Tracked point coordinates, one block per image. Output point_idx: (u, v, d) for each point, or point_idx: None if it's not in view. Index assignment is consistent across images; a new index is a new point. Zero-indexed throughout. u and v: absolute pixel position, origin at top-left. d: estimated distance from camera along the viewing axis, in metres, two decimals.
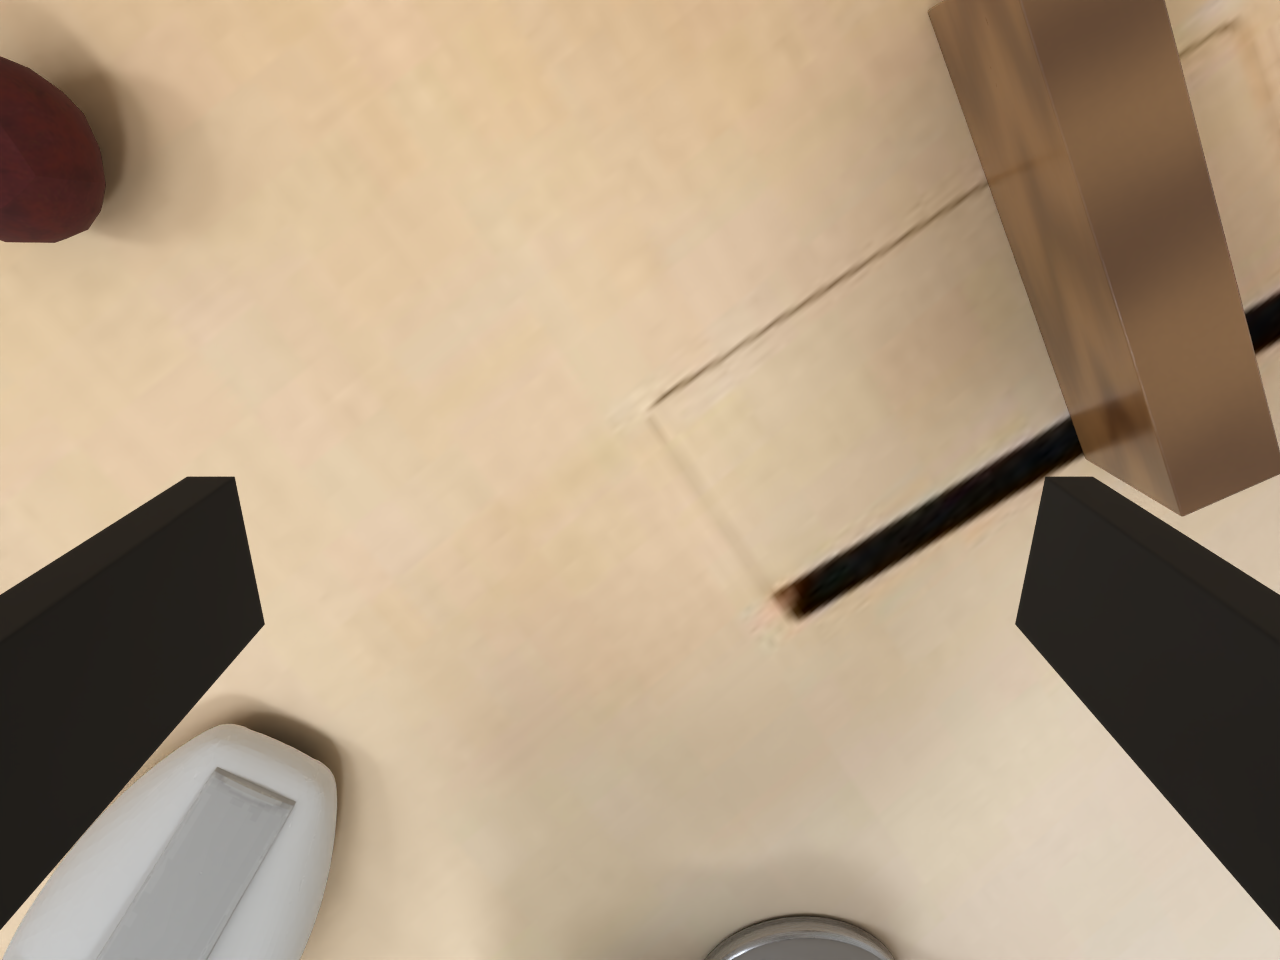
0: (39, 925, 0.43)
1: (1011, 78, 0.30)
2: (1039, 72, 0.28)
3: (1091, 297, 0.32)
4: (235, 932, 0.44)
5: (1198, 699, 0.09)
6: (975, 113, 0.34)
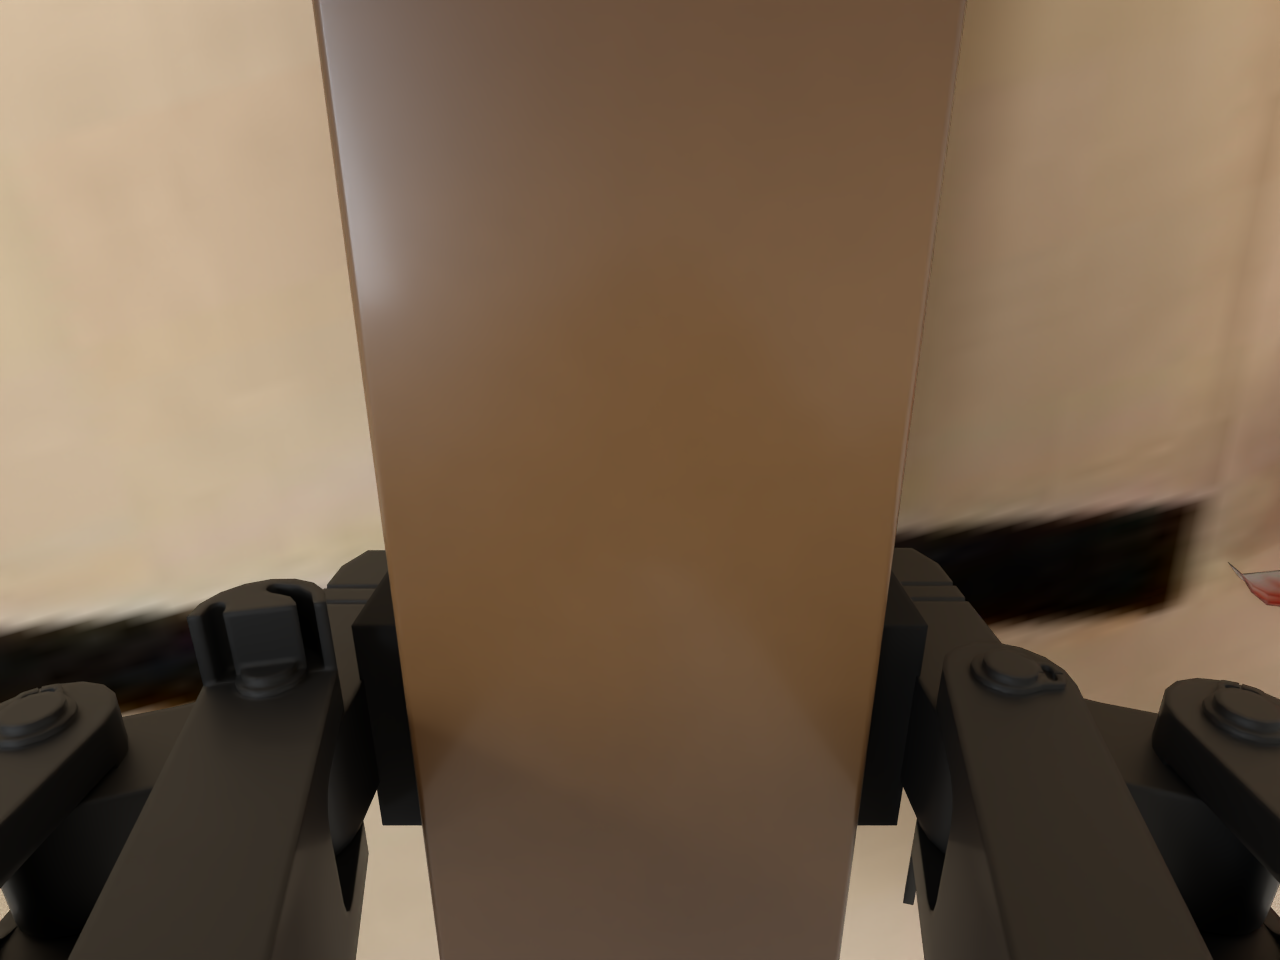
0: None
1: None
2: None
3: None
4: None
5: None
6: None
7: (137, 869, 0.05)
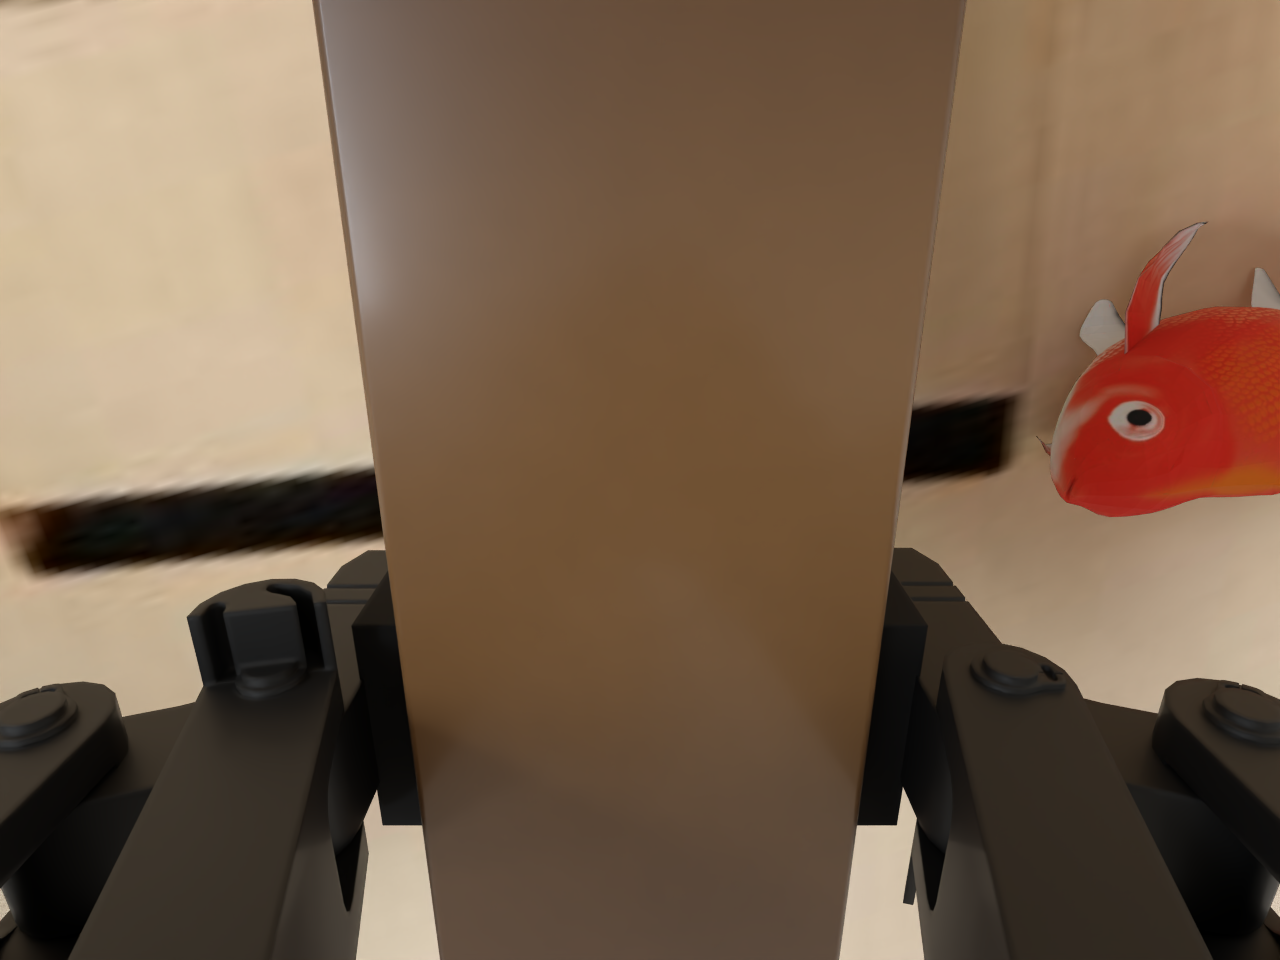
0: None
1: None
2: None
3: None
4: None
5: None
6: None
7: (137, 869, 0.05)
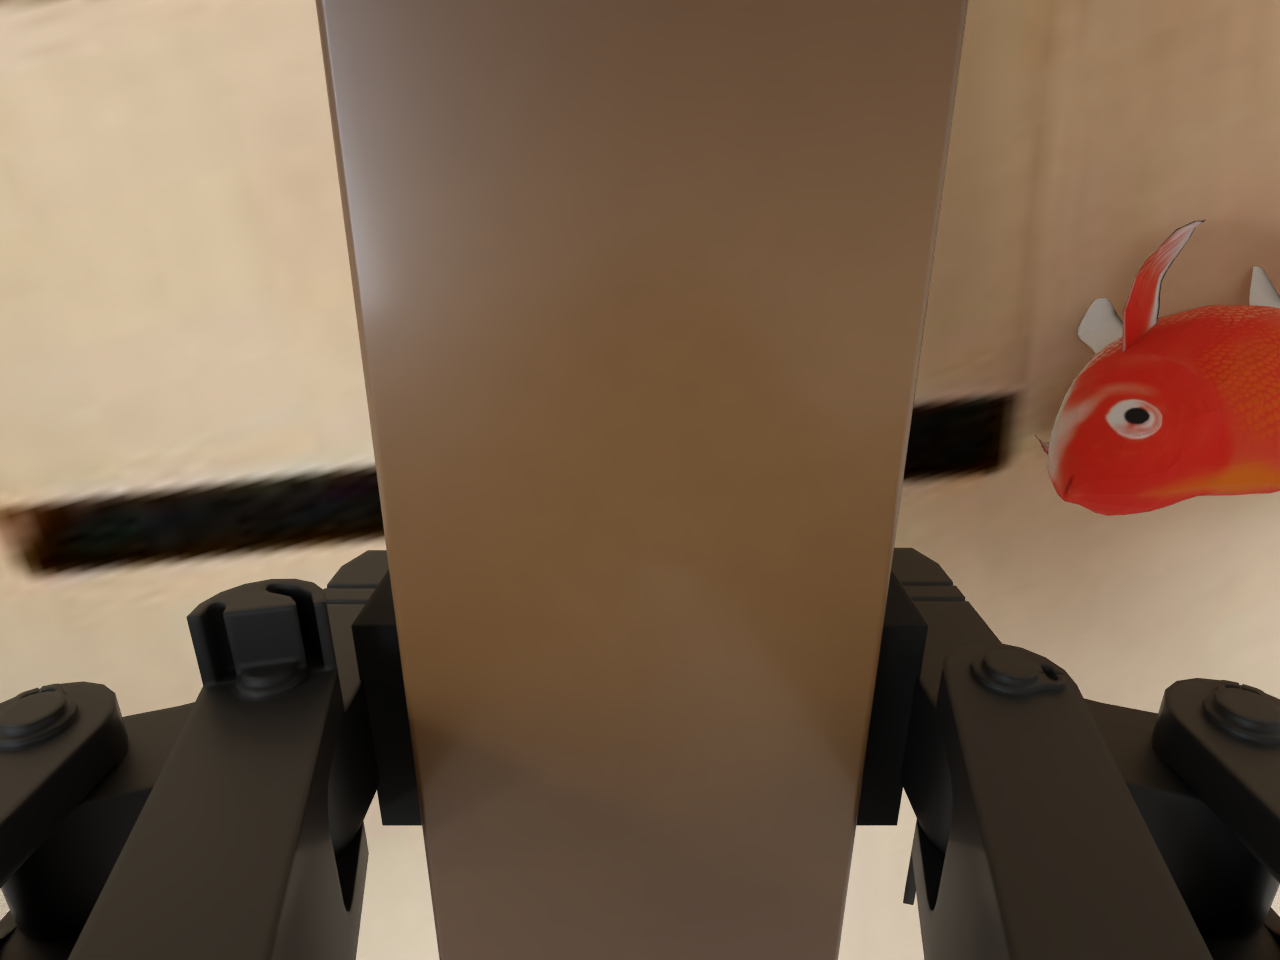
0: None
1: None
2: None
3: None
4: None
5: None
6: None
7: (137, 869, 0.05)
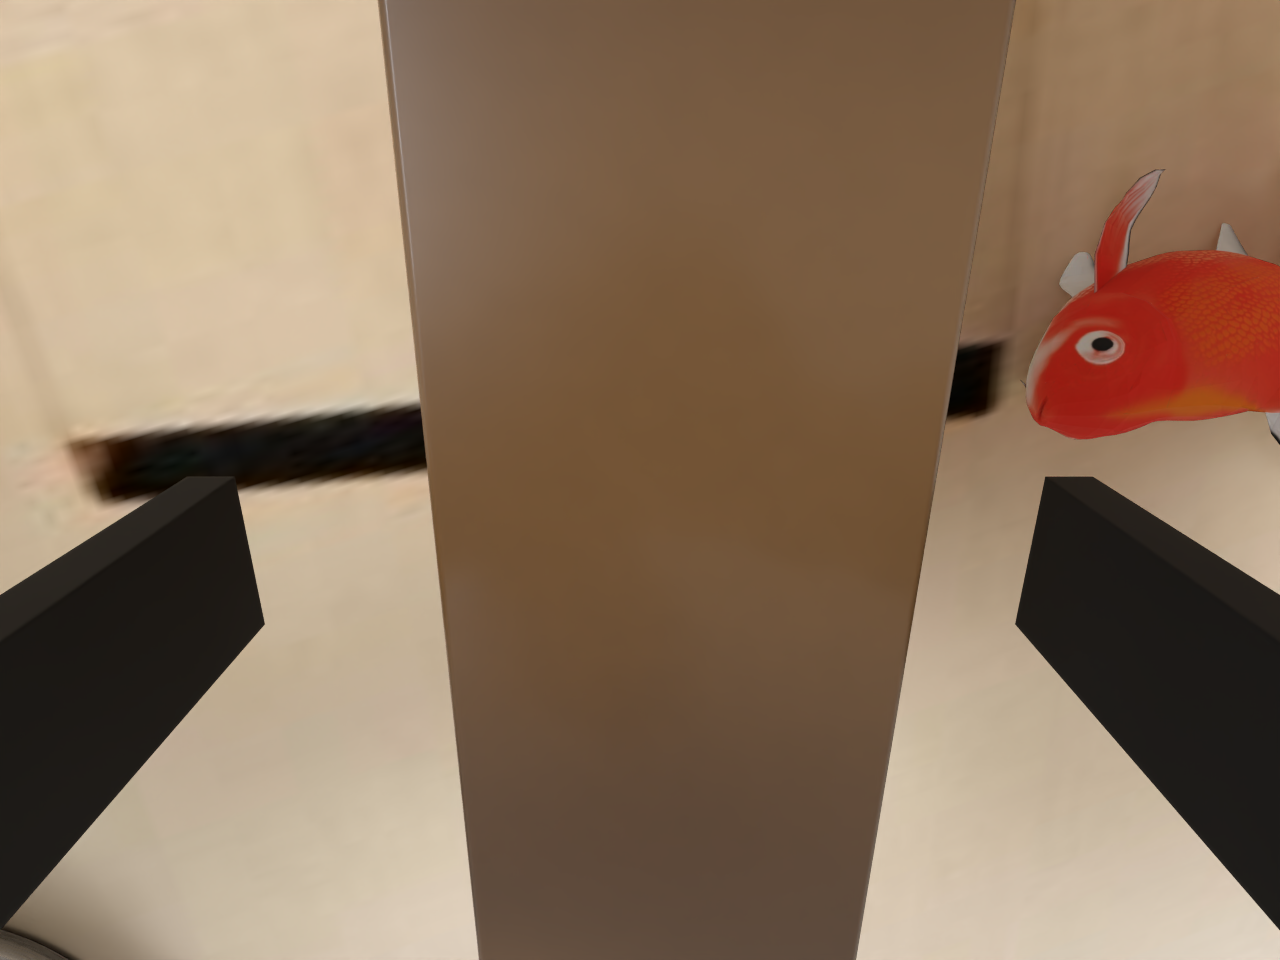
0: None
1: None
2: None
3: None
4: None
5: (1199, 701, 0.09)
6: None
7: None
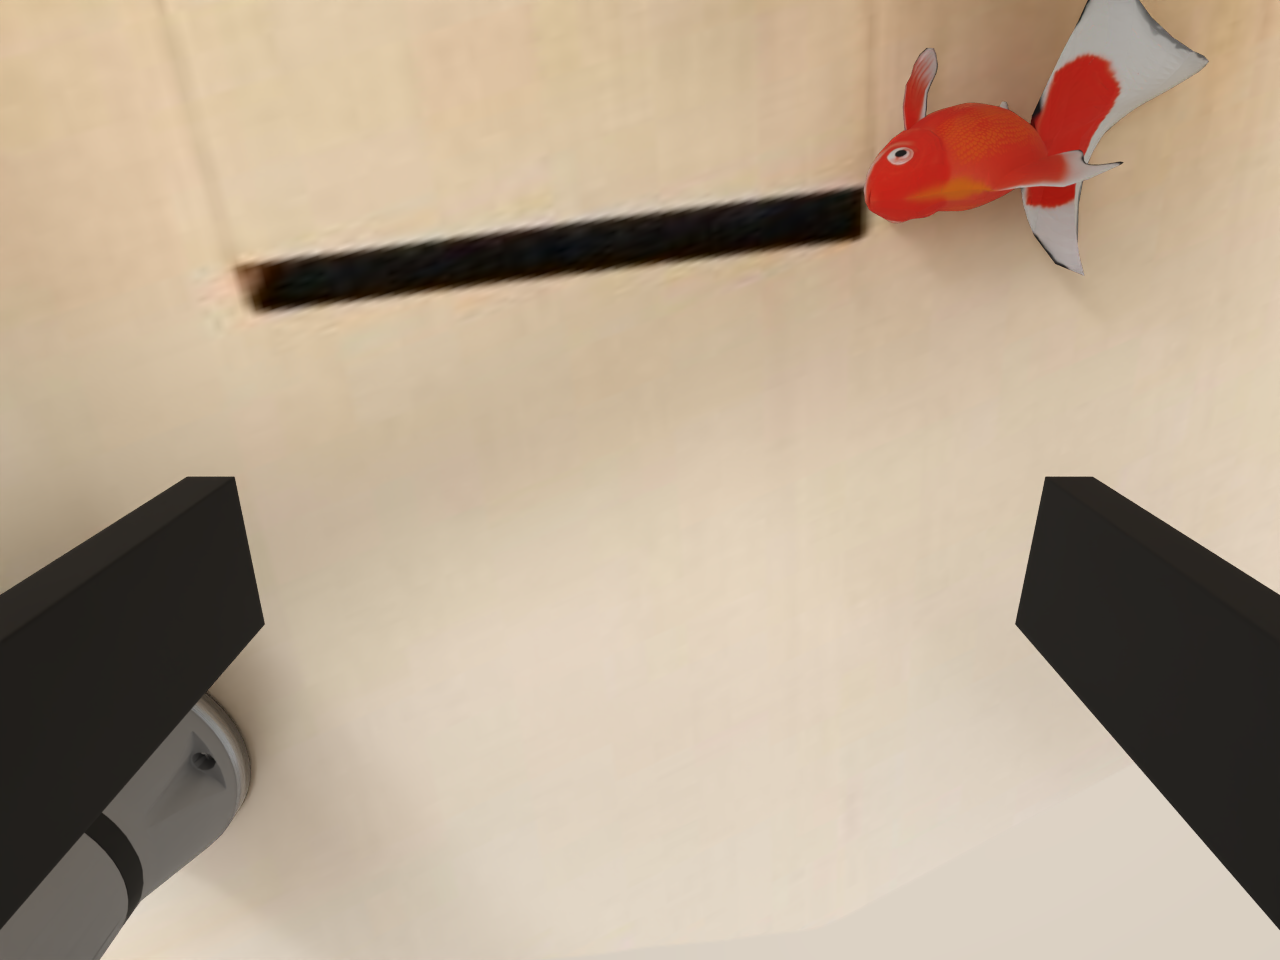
0: None
1: None
2: None
3: None
4: None
5: (1198, 701, 0.09)
6: None
7: None
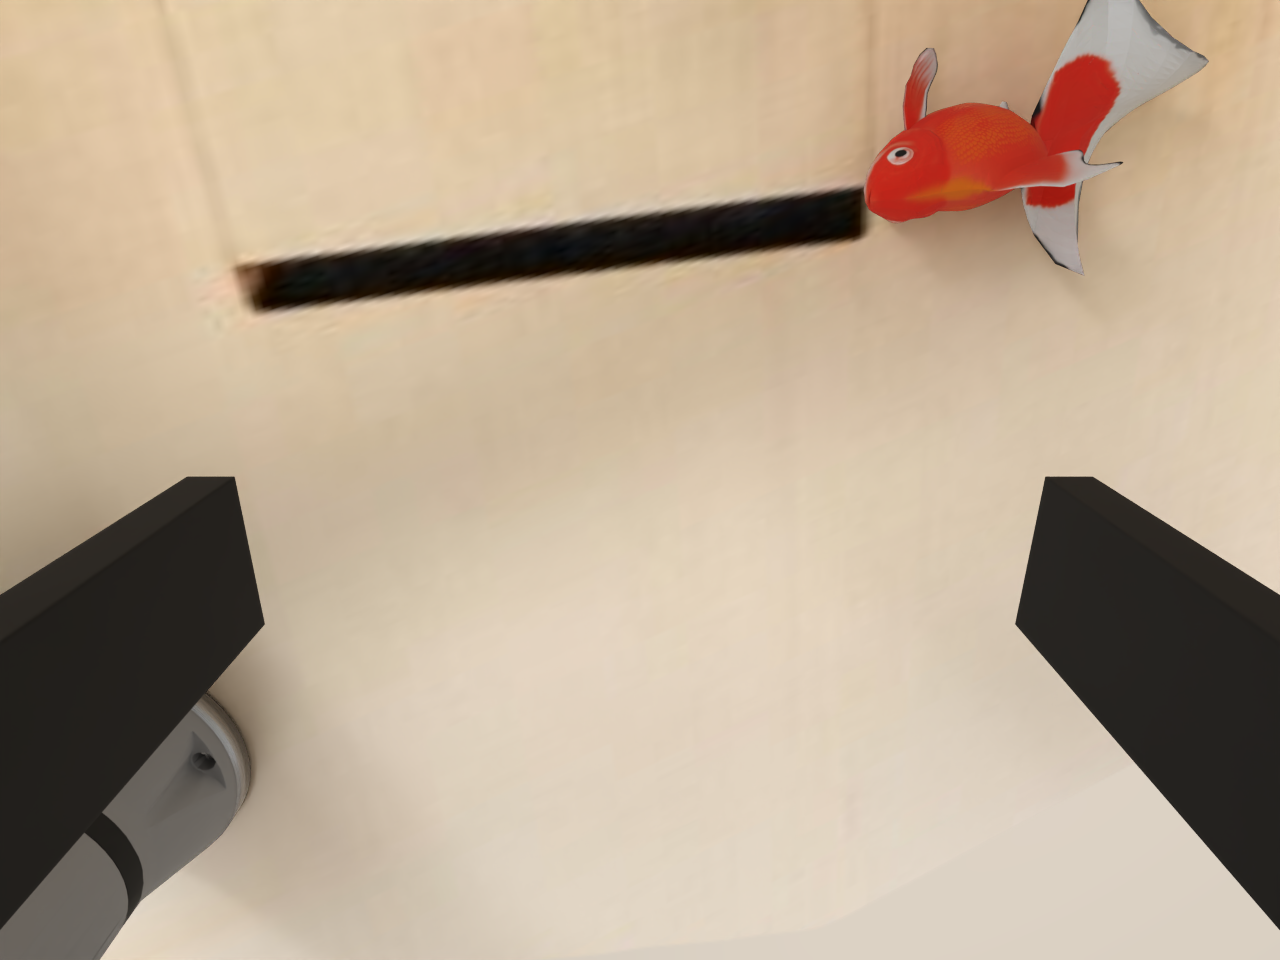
0: None
1: None
2: None
3: None
4: None
5: (1198, 701, 0.09)
6: None
7: None
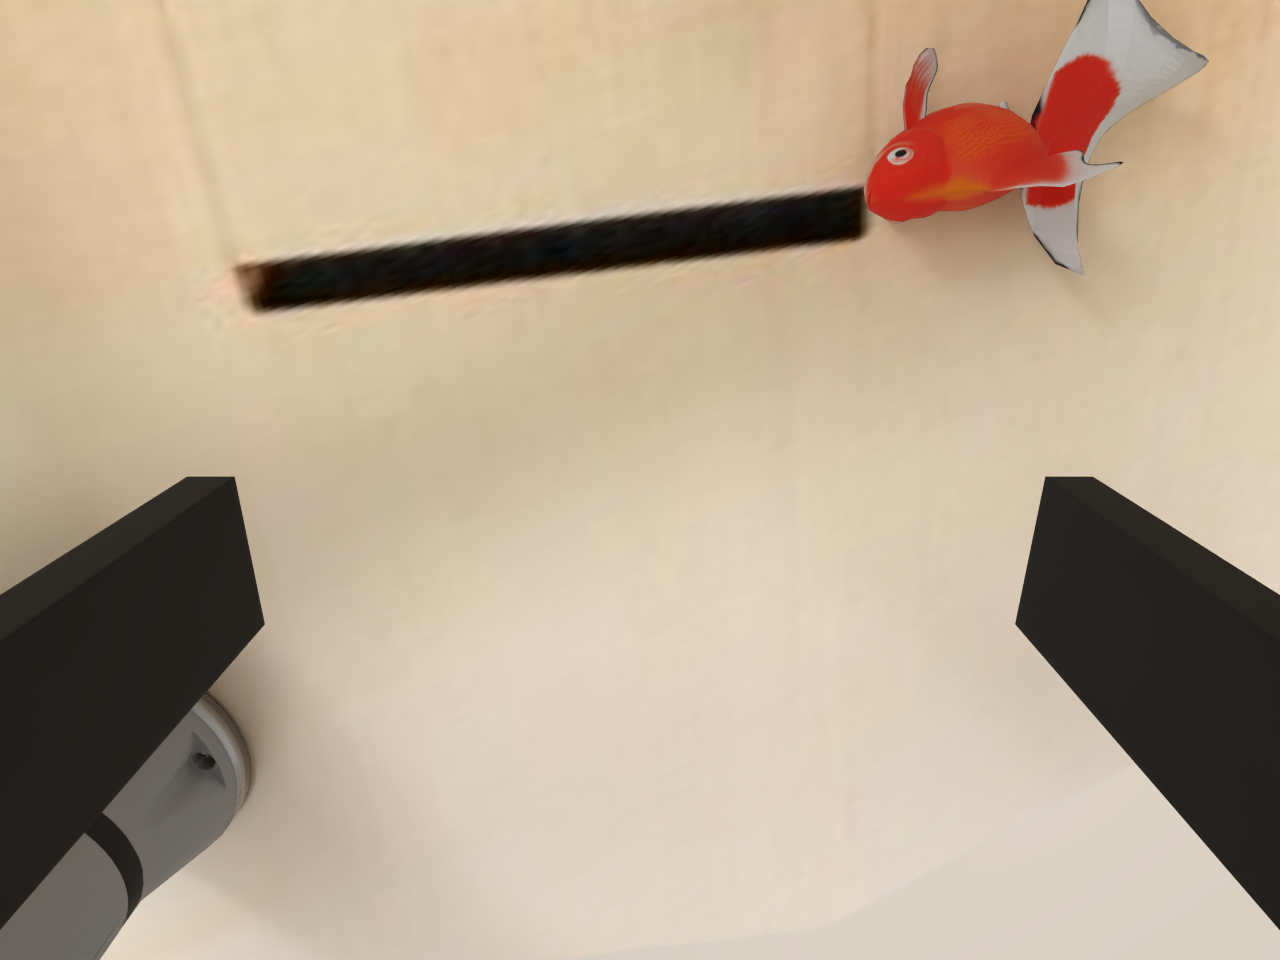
0: None
1: None
2: None
3: None
4: None
5: (1198, 701, 0.09)
6: None
7: None
